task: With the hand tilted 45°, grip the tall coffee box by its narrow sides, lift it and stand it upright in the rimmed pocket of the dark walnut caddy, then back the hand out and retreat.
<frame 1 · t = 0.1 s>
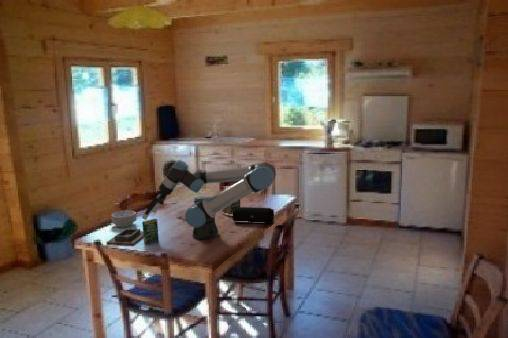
hand: (148, 215, 245), 15 cm above the table, tool tilted 35°, fingers open, 13 cm apart
coffee box: (151, 243, 244), on the table
chalk box: (231, 214, 300), on the table
caddy: (128, 238, 252), on the table
portable speaker: (253, 223, 280), on the table
paper bowls: (124, 225, 278), on the table
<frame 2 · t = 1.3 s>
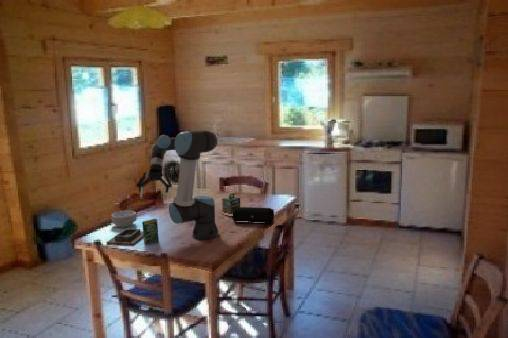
hand: (152, 197, 250), 24 cm above the table, tool tilted 45°, fingers open, 13 cm apart
nothing on the table moved.
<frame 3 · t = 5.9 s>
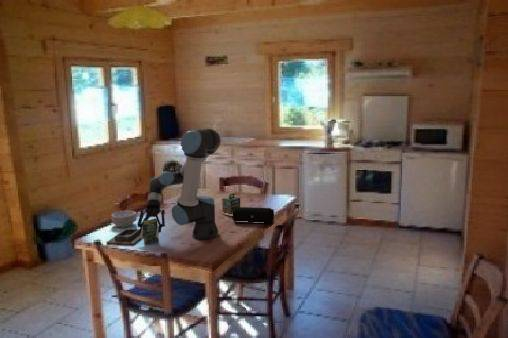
hand: (149, 237, 240), 4 cm above the table, tool tilted 45°, fingers closed on coffee box, 8 cm apart
coffee box: (151, 243, 244), on the table, touching gripper
everything else where it was.
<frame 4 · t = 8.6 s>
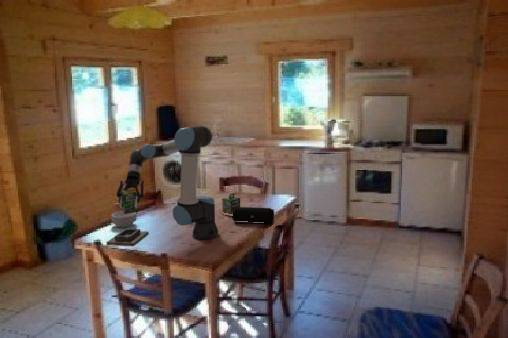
hand: (128, 207, 244), 20 cm above the table, tool tilted 45°, fingers closed on coffee box, 8 cm apart
coffee box: (130, 213, 248), point 15 cm above the table, touching gripper
everything else where it was.
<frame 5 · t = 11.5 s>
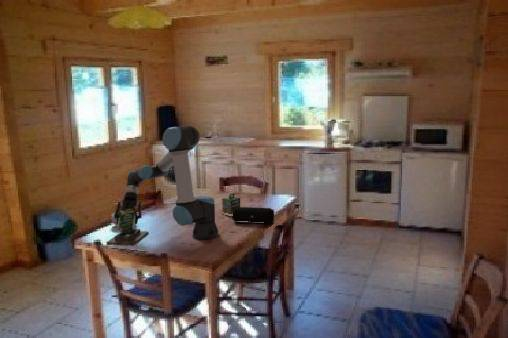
hand: (125, 228, 247), 7 cm above the table, tool tilted 45°, fingers closed on coffee box, 8 cm apart
coffee box: (127, 233, 251), point 3 cm above the table, touching caddy, gripper
everything else where it was.
when the fingers open (6 cm above the table, at t = 12.3 s): coffee box stays where it is, resting on caddy.
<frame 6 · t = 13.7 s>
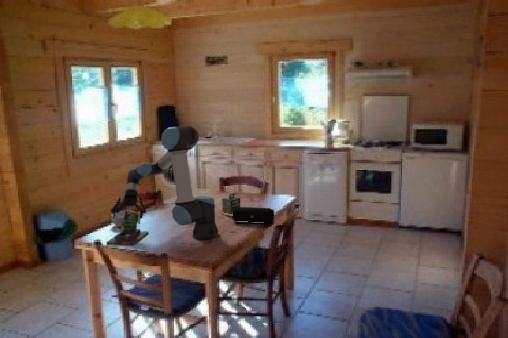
hand: (126, 223, 251), 9 cm above the table, tool tilted 45°, fingers open, 13 cm apart
coffee box: (127, 234, 252), point 3 cm above the table, touching caddy
everything else where it was.
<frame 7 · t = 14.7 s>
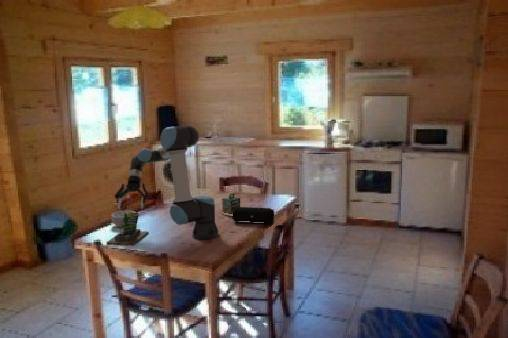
hand: (130, 208, 258), 16 cm above the table, tool tilted 45°, fingers open, 13 cm apart
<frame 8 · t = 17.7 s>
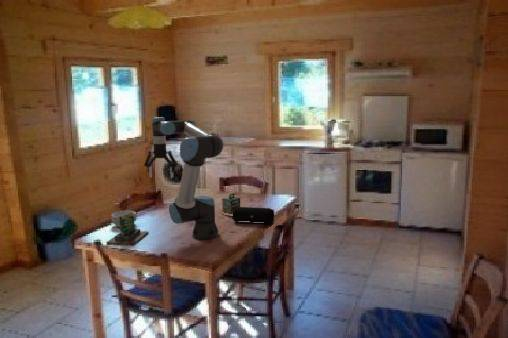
hand: (161, 177, 267), 32 cm above the table, tool pointing down, fingers open, 13 cm apart
coffee box: (127, 237, 252), point 1 cm above the table, touching caddy
everything else where it was.
at the end: coffee box 0.1 cm off-centre on the caddy, point 1.0 cm above the caddy's base; coffee box tilted 1°; the gripper is holding nothing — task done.
